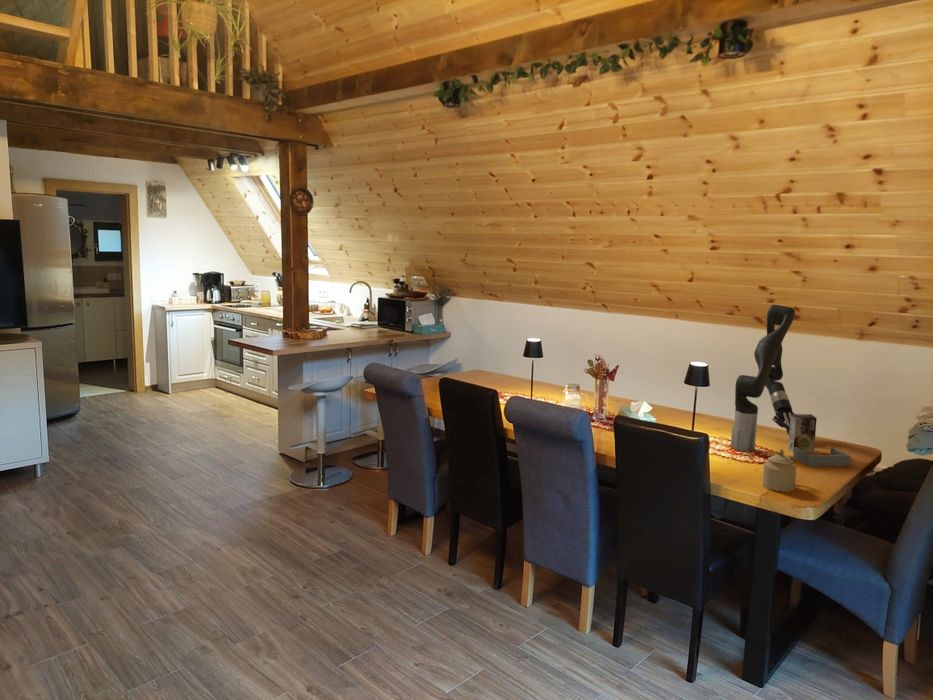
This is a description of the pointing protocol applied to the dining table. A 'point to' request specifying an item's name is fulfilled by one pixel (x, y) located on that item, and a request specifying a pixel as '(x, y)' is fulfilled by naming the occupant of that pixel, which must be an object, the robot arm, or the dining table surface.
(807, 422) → the coffee box
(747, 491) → the dining table surface
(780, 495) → the dining table surface
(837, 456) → the box
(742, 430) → the robot arm
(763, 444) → the dining table surface
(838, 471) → the dining table surface
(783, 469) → the sugar bowl
